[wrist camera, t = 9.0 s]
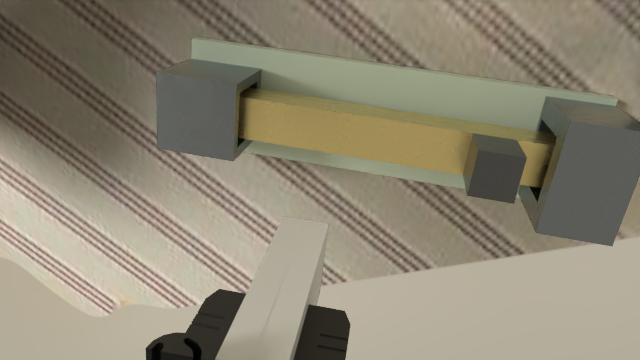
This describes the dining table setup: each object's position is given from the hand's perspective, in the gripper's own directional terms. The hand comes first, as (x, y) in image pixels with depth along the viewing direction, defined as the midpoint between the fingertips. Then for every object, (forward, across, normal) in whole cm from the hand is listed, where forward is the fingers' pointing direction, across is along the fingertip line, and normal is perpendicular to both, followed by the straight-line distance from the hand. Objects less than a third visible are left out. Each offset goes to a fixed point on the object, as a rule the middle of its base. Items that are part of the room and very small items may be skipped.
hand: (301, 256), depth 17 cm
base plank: (+27, +2, -3) cm, 27 cm away
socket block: (+26, +16, -3) cm, 30 cm away
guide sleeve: (+26, -11, -3) cm, 29 cm away
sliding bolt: (+24, +3, -3) cm, 25 cm away
